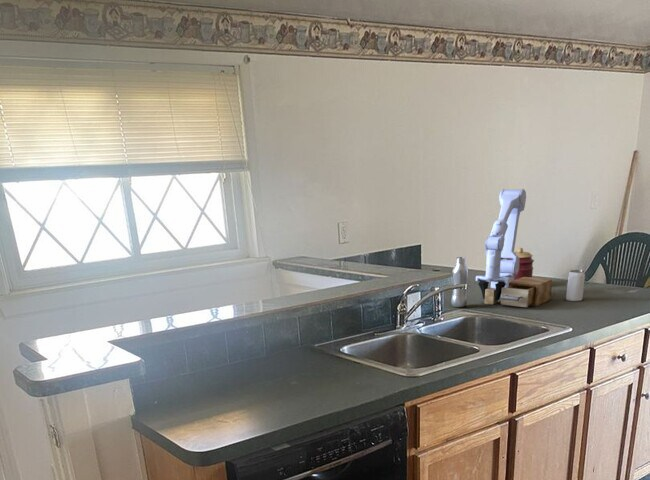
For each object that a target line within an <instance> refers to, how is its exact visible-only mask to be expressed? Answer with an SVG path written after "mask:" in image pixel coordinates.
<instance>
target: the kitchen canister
mask: <svg viewBox="0 0 650 480" xmlns="http://www.w3.org/2000/svg"><path fill="white" fill-rule="evenodd" d="M514 253H515V254H517V255H518V256H519V271H518V273H517V274H516V275H514V280H517V279H519V278H522V277H532V278H533V273H534V272H533V271H534V267H533V263H534V261H535V260H534V259H533V258H532V257H533V254H532V253H530V252H529V251H524V249H523V247H518V248H517V249H516V251H514ZM505 260H514V259H505Z"/></svg>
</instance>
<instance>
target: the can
mask: <svg viewBox="0 0 650 480" xmlns="http://www.w3.org/2000/svg"><path fill="white" fill-rule="evenodd" d="M585 279H586V273H585V270H582V269H571V270H570V271H569V273H568V277H567V286H566V295H565V300H566V301H568V302H582V300H583V296H584V288H585V281H586V280H585Z"/></svg>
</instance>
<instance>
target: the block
mask: <svg viewBox="0 0 650 480" xmlns="http://www.w3.org/2000/svg"><path fill="white" fill-rule="evenodd" d="M498 301H499V300H496V288H491V287H488V288H487V289H485V299H484V304H486V305H496V304H497V303H498Z"/></svg>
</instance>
